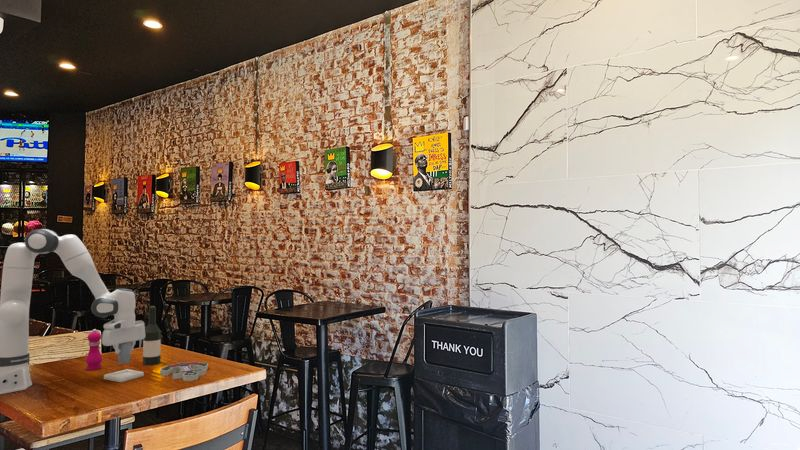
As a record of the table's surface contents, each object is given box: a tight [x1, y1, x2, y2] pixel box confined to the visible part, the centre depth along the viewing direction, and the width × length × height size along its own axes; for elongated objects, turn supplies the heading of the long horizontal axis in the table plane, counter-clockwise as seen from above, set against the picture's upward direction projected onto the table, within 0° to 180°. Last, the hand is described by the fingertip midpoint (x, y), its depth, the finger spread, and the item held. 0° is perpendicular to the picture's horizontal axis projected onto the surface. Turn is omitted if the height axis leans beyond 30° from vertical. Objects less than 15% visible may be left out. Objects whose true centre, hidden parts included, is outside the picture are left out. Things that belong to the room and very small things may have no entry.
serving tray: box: [103, 368, 145, 383], centre depth 249 cm, size 12×12×2 cm
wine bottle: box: [142, 305, 162, 366], centre depth 277 cm, size 8×8×30 cm
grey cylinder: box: [117, 342, 132, 364], centre depth 249 cm, size 5×5×9 cm
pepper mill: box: [85, 328, 103, 371], centre depth 266 cm, size 7×7×20 cm
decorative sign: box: [160, 361, 209, 382], centre depth 257 cm, size 22×3×30 cm
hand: (124, 352), depth 249 cm, fingers closed on grey cylinder, 5 cm apart
